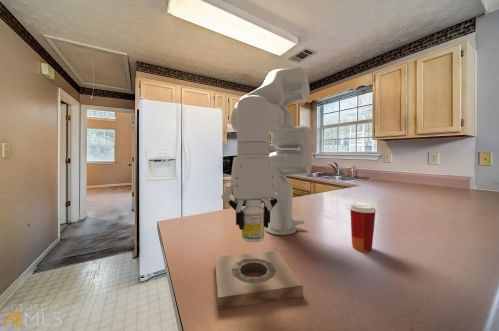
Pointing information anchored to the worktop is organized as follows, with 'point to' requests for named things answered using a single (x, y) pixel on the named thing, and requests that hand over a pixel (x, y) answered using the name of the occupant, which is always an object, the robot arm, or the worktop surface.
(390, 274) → the worktop surface
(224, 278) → the seat board
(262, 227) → the supplement bottle
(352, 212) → the paper cup
